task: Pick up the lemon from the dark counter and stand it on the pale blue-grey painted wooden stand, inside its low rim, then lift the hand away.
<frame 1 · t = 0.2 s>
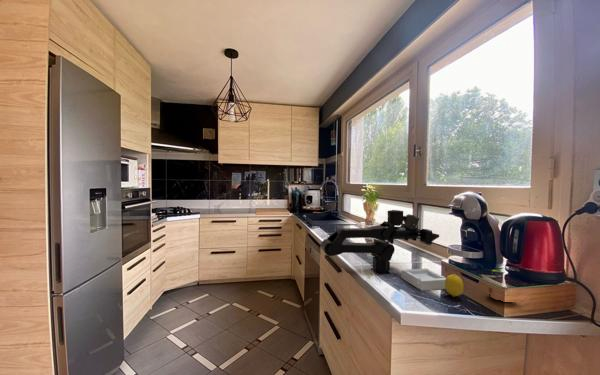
hand: (431, 233, 109), 17 cm above the table, tool horizontal, fingers open, 9 cm apart
lemon: (453, 297, 82), on the table
bell pepper: (500, 299, 81), on the table
stand: (424, 283, 93), on the table
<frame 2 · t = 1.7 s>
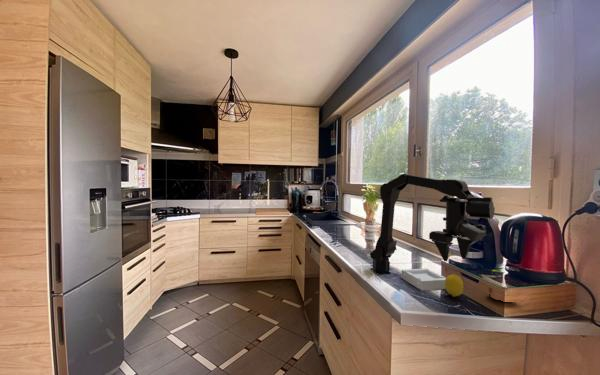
hand: (454, 259, 82), 13 cm above the table, tool pointing down, fingers open, 9 cm apart
nothing on the table moved.
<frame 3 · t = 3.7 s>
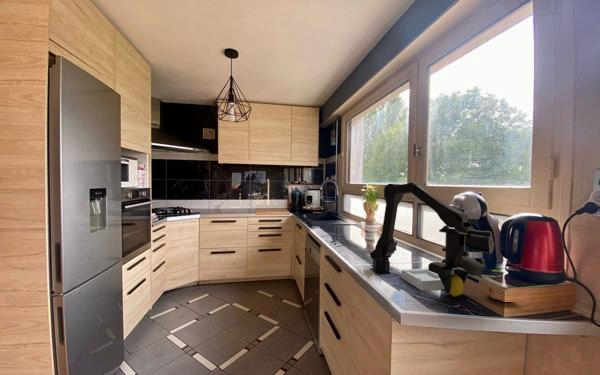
hand: (453, 290, 82), 2 cm above the table, tool pointing down, fingers closed on lemon, 5 cm apart
lemon: (453, 297, 82), on the table, touching gripper
everything else where it was.
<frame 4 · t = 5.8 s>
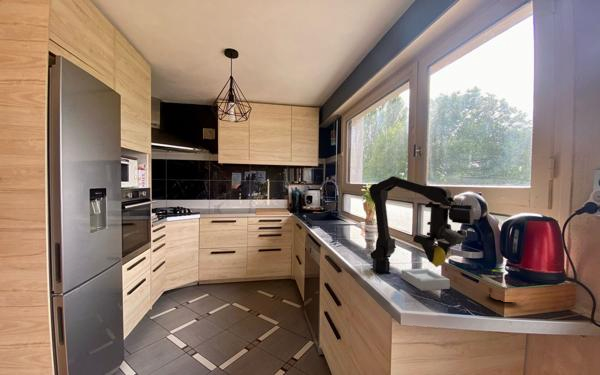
hand: (436, 261, 88), 10 cm above the table, tool pointing down, fingers closed on lemon, 5 cm apart
lemon: (436, 267, 88), point 8 cm above the table, touching gripper
everything else where it was.
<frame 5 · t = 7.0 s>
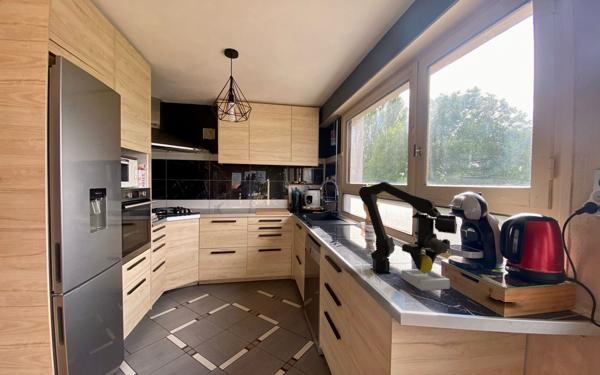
hand: (424, 269, 93), 6 cm above the table, tool pointing down, fingers closed on lemon, 5 cm apart
lemon: (424, 274, 93), point 3 cm above the table, touching gripper
everything else where it was.
when the fingers open (5 cm above the table, at t = 7.8 s): lemon drops 1 cm, resting on stand.
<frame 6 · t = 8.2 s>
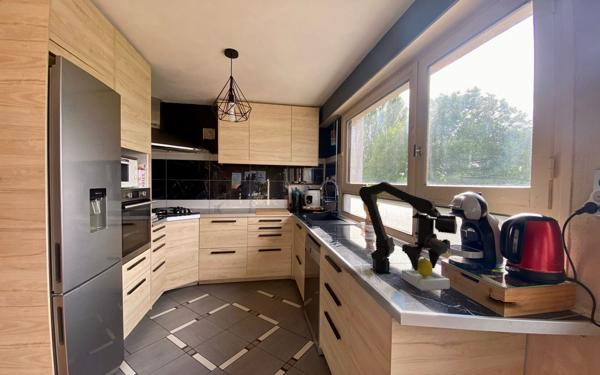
hand: (424, 269, 93), 5 cm above the table, tool pointing down, fingers open, 9 cm apart
lemon: (424, 278, 93), point 2 cm above the table, touching stand
everything else where it was.
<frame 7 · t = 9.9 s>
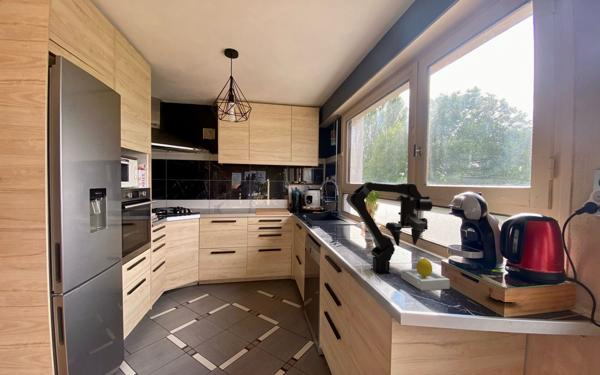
hand: (406, 245, 106), 12 cm above the table, tool pointing down, fingers open, 9 cm apart
nothing on the table moved.
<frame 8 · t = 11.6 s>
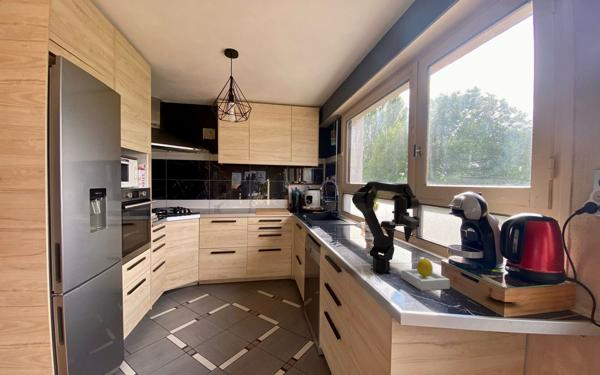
hand: (399, 242, 111), 12 cm above the table, tool pointing down, fingers open, 9 cm apart
nothing on the table moved.
at the end: lemon 0.0 cm off-centre on the stand, point 1.8 cm above the stand's base; lemon tilted 1°; the gripper is holding nothing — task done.
